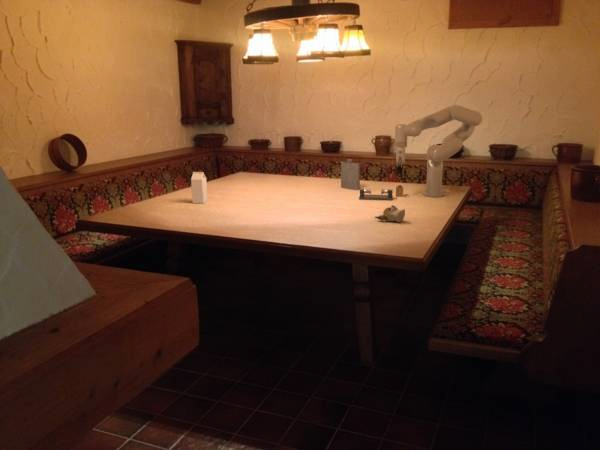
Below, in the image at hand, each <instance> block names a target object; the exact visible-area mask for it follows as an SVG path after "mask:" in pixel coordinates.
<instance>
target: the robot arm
mask: <svg viewBox="0 0 600 450" xmlns="http://www.w3.org/2000/svg"><path fill="white" fill-rule="evenodd" d="M454 120H456V121H457V122H460V123H461V125H460V126H459V127H458V128H457V129H456V130H454V131H453V132H451V133H449V134H448V135H447V136H446V137H444V138H443V139H442V143H441V144H440V145H439V144H432V145H430V146H428V148H427V151H426V183H425V191H424V192H423V196H425V197H428V198H429V197H431V198H440V197H443V196H445V193H446V194H449V193H450V189H443V171H444V162H445V161H447V160H448V159H449V158H451V157H453V156H454V155H455V154H456V153H458V152H460V150H461V149H462V148H463V145H464V142H465V141H467V140H468V139H469V138H471V136H472V135H473V134H474V131H475V129H476V127H478V126H480V125H481V124H482V123H483V116H482V114H481V113H480V111H479V112H478V111H475V110H473V109H471V108H467V107H464V106H462V105H457V104H452V105H449V106H447V107H445V108H442V109H440V110H438V111H435V112H434V113H431V114H430V115H427V116H424V117H421V118H418V119H416V120H414V121H412V122H410V123H408V124H405V123H399V124H398V123H397V124H396V125H395V127H394V148H396V150H395V151H396V152H395V155H396V156H395V157H396V158H395V159H396V160H395V161H396V164H397V167H396V174H398V175H402V174H403V168H404V166H403V164H405V161H406V159H405V158H406V148H408V137H413V138H415V137H419V136H420V135H421V134H422V131H425V130H428V129H434V128H439V127H440V126H443V125H445V124H447V123H450V122H452V121H454Z"/></svg>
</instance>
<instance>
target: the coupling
mask: <svg viewBox="0 0 600 450" xmlns="http://www.w3.org/2000/svg"><path fill="white" fill-rule="evenodd" d="M395 197H396V198H403V197H404V186H403V185H401V184H400V185H399V184H398V185H396V186H395Z"/></svg>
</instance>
